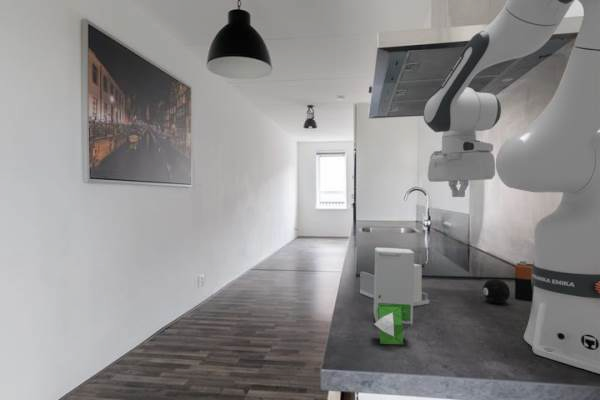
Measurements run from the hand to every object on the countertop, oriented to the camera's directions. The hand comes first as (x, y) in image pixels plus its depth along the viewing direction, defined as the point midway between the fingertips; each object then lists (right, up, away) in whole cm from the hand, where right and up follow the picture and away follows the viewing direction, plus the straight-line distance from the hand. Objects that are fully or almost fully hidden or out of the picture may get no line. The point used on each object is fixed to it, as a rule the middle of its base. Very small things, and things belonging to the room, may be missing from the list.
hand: (458, 197), depth 104 cm
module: (-18, -26, -11) cm, 33 cm away
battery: (+17, -27, -6) cm, 33 cm away
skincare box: (-24, -28, -21) cm, 42 cm away
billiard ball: (+6, -28, -9) cm, 30 cm away
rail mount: (-20, -27, -5) cm, 34 cm away
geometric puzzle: (-27, -28, -34) cm, 52 cm away
